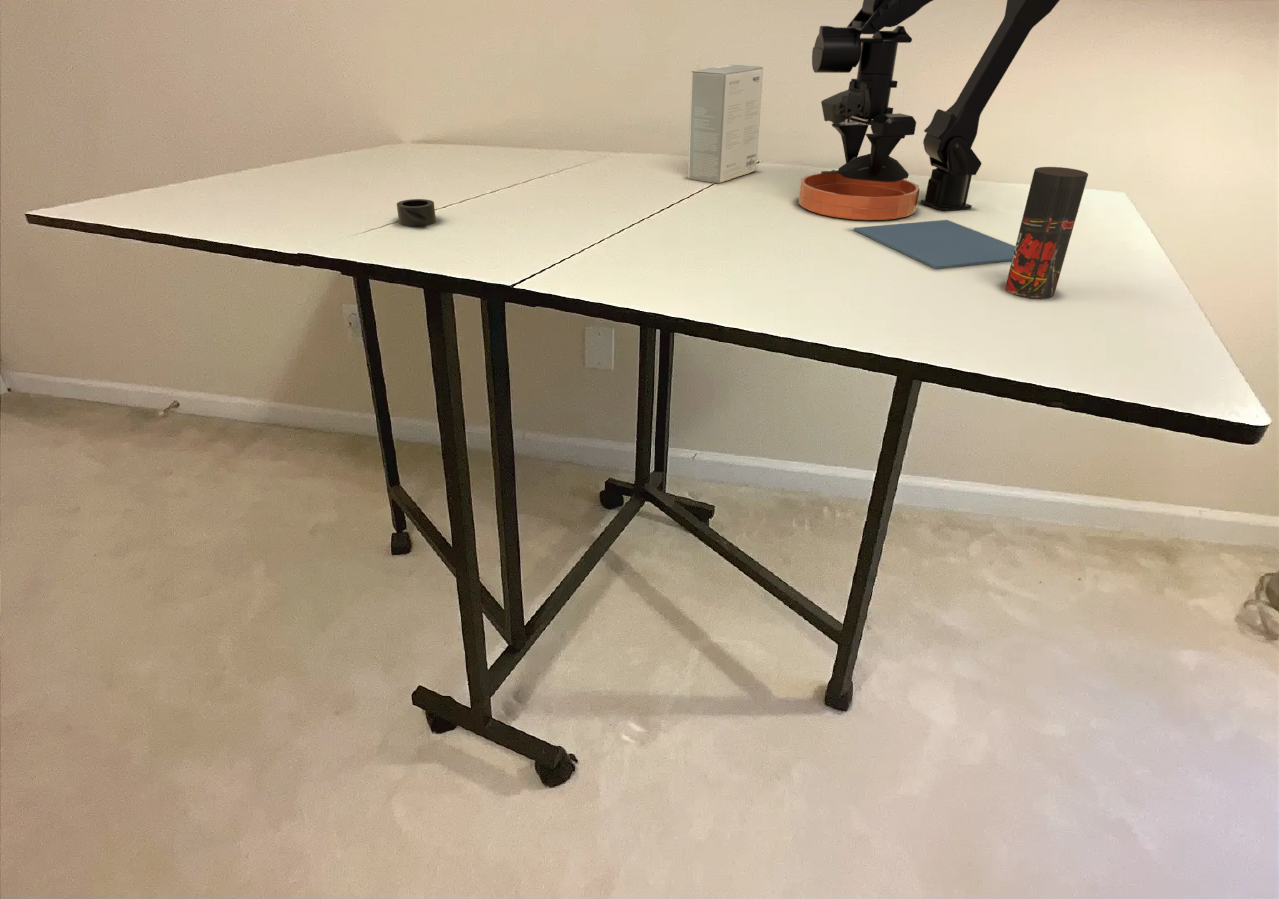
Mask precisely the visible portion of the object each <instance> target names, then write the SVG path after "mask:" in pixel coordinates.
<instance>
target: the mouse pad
mask: <svg viewBox="0 0 1279 899" xmlns="http://www.w3.org/2000/svg"><path fill="white" fill-rule="evenodd" d="M853 231H854V232H857V233H859V234H861V235H863V236H865V237H867V238H869V239H871V240H874V241H876V242H877V243H880V244H882V245H883V246H886V247H888V248H889V249H892V250H895V251H897V252H898V253H901V254H903V255H906V256H907V257H910V258H911V259H914V260H916V261H918V262H920V263H922V264H924V265H926V266H929V267H931V268H933V269H934V270H937V269H949V268H957V267H968V266H975V265H985V264H995V263H996V264H997V263H1003V262H1004V263H1006V262H1012V258H1013V254H1014V250H1015V246H1016V245H1013V244H1010V243H1008V242H1005V241H1002V240H1000V239H998V238H995V237H993V236H990V235H988V234H985V233H982V232H980V231H977V230H974V229H972V228H969V227H967V226H964V225H961V224H959V223H957V222H956V223H955V222H953V221H951V220H948V219H941V220H930V221H920V222H919V221H917V222H908V223H907V222H906V223H895V224H882V225H872V226H871V225H870V226H860V227H853Z"/></svg>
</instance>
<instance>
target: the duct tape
mask: <svg viewBox="0 0 1279 899" xmlns="http://www.w3.org/2000/svg"><path fill="white" fill-rule="evenodd" d="M396 209H397V218H398V223H399V225H402V226H403V227H404V226H405V227H425V226H429V225H433V224H435V223H436V222H437V218H436V210H435V202H434V201H433V200H431V199H425V198H412V199H405V200H400V201H397V202H396Z"/></svg>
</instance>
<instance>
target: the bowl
mask: <svg viewBox="0 0 1279 899" xmlns="http://www.w3.org/2000/svg"><path fill="white" fill-rule="evenodd" d="M920 190H921V189H920V187H919V185H918V184H916V183H915V182H913V181H910V180H908V179H903V180H900V181H897V182H878V181H868V180H857V179H849V178H845V177H843V176H842V175H840V174H839V173H838V174H836V173H835V174H831V173H824V174H821V172H818V173H813V174H808V175H805V176H804V177H802V178H801V179H800V186H799V196H798V205H799V206H801V208H803V209H806V210H808V211H810V212H813V213H815V214H818V215H822V216H827V217H831V218H836V219H842V220H843V219H844V220H853V221H854V220H855V221H888V220H889V221H890V220H896V219H900V218H906V217H909V216H912V215H913V214H914V213H915V212H916V211H917V207H918V206H917V205H918V201H919V195H920Z"/></svg>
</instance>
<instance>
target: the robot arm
mask: <svg viewBox="0 0 1279 899" xmlns="http://www.w3.org/2000/svg"><path fill="white" fill-rule="evenodd" d="M933 1H934V0H863V1H862V6H861V8H860V10H858V12H857V13H856V15H855V16H854V17H853V18H852V20H851V21H850V22H849V23H848V25H847V26H846V27H845V26H844V27H843V26H839V27H838V26H830V25H820V26H819V30H818V34H817V36H816V39H815V41H814V46H813V47H812V52H811V66H812V67H811V68H812V71H813V72H814V73H815V74H816V73H817V74H818V73H819V74H823V73H824V74H827V73H828V74H849V73H851V71H853V68H857V74H856V78H851V79H850V81H849V84H848V88H847V89H846V90H844V91H840V92H838V93H836V94H834V95H831V96H829V97H827V98H824V99H823V100H821V102H820V104H821V109H822V114H823V120H824V122H831V126H832V128H834V129H835V130H836V131H837V132H838V134H840V137H841V141H842V147H843V153H844V160H845V164H846V163H848V162H849V161H850V160H852V158H853V157H859V154H860V151H861V149H862V146H863V142H864V140H865V137H866V138H867V139H868V141H869V143H870V153H871V155H870V176H876V175H877V173H878V172H879V170H880V169H881V167H882V166H883V164H884V163H885V161H886V159H887V158H888V156H890V155H891V154H892V152H893V151H894V150H895V148H896V147H897V145H898V144H899V143H900V141H901V140H902V139H905V138H906V136H914V135H915V133H916V127H917V121H916V119H915V117H914V116H913V115H908V114H905V113H901V112H900V113H893V112H894V107H890V106H889V103H890V97H891V92H892V89H897V88H898V83H899V82H898V80H894V79H893V78H894V73H895V72H894V71H895V65H896V60H897V52H898V47H899V44H910V43H912V41H913V38H912V37H911V36H910V34H909V33H908V32H907V30H906V28H905V26H903V25H899V24H902V23H903V22H904V21H906V20H908V19H910V18H911V17H912V16H914V15H916V14H917V13H918V12H919V11H920V10H921V9H923V8H924V6H926V5H928V4H929V3H932V2H933ZM1060 1H1061V0H1006V5H1005V12H1004V16H1003V19H1002V21H1001V22H1000V25H999V26H998V27H997V29H996V31H995V33H994V34H993V37H992V38H991V40H990V42H989V44H988V45H987V47H986V48H985V50H984V52H983V53H982V55H981V57H980V59H979V60H978V63H977V64H976V66H975V68H974V69H973V71H972V72H971V74H970V76H969V78H968V79H967V81H966V83H965V85H964V86H963V87H962V90H961V92H960V93H959V95H958V97H957V98H956V100H955V102H954V103H953V104H952V105H950V107H948V108H947V109H946V110H943V109H940V108H938V109H936V110H935V112H934V114H933V116H932V120H931V121H930V123H929V125H928V126H927V127H925V129H924V130H923V132H924V133H925V135H924V138H923V141H922V144H923V148H924V152H925V154H927V156H928V157H929V165H930V166H931V167H934V168H932V170H931V175H930V178H929V179H928V182H927V187H926V192H925V198H924V199H920V202H919V203H920V204H923V205H926V206H928V207H931V208H934V209H936V210H939V211H955V210H967V209H972V206H973V205H972V204H969V203H967V200H968V196H969V191H970V188H971V182H972V177H973V176H976V175H977V173H978V172H979V169H980V168H981V166H982V161H981V160H980V159H979V157H978V156H977V154H976V152H974V150H973V148H972V147H973V145H974V142H975V140H976V137H977V136H978V130H979V123H980V119H981V118H980V117H981V115H982V113H983V111H984V110H985V108H986V107H987V104H988V102H989V101H990V99H991V98H992V96H993V94H994V93H995V91H996V90H997V87H998V86H999V84H1000V83H1001V81H1002V79H1003V78H1004V76H1005V74H1006V73H1007V71H1008V70H1009V68H1010V66H1011V64H1012V63H1013V61H1014V59H1015V58H1016V56H1017V54H1018V52H1019V51H1020V49H1021V47H1022V46H1023V44H1024V42H1025V41H1026V39H1027V37H1028V36H1029V34H1030V32H1031V31H1032V29H1034V27H1036V25H1038V24H1039V23H1040V22H1041V21H1042V20H1043V19H1044V18H1046V16H1049V14H1050V13H1051V12H1052V11H1053V10H1054V8H1055V7H1056V6H1057V4H1058V3H1059V2H1060ZM892 27H893V28H894V27H895V28H894V29H893V30H882V29H884V28H892ZM862 35H872V36H871V37H861V36H862ZM857 66H858V67H857ZM869 126H870V130H871V132H872V133H867V131H868V128H869Z"/></svg>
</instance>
